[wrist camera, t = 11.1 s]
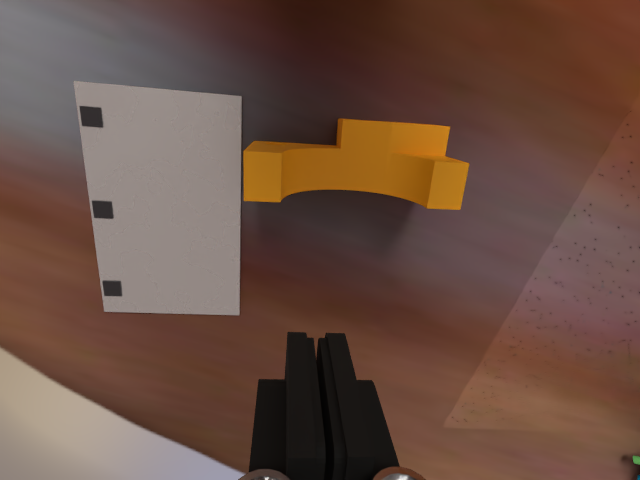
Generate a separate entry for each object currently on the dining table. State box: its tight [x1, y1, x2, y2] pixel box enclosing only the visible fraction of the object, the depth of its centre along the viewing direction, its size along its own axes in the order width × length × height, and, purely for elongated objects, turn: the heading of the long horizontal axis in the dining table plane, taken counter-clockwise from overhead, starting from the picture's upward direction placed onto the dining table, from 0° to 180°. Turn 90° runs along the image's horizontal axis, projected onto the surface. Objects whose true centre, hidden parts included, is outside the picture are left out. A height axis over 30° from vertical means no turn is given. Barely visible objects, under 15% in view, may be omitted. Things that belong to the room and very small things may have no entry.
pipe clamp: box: [243, 118, 469, 210], centre depth 22 cm, size 12×4×6 cm, turn 86°
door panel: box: [74, 81, 242, 315], centre depth 25 cm, size 16×10×1 cm, turn 175°
